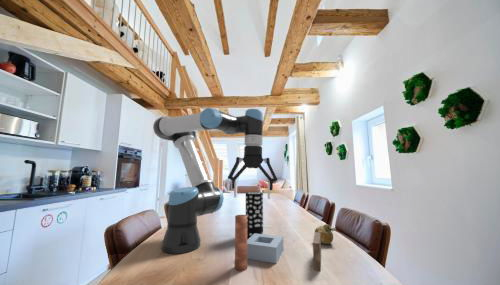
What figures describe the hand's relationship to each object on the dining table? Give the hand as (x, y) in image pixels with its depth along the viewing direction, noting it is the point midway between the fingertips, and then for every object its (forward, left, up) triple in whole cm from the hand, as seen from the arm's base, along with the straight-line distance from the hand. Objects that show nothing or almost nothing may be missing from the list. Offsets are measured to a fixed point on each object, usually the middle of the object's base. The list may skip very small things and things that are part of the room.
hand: (251, 197), depth 82 cm
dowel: (+2, -15, -20) cm, 25 cm away
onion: (+27, +18, -20) cm, 38 cm away
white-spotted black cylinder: (-4, +15, -20) cm, 25 cm away
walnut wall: (+25, -2, -20) cm, 32 cm away
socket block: (+6, -2, -20) cm, 21 cm away
